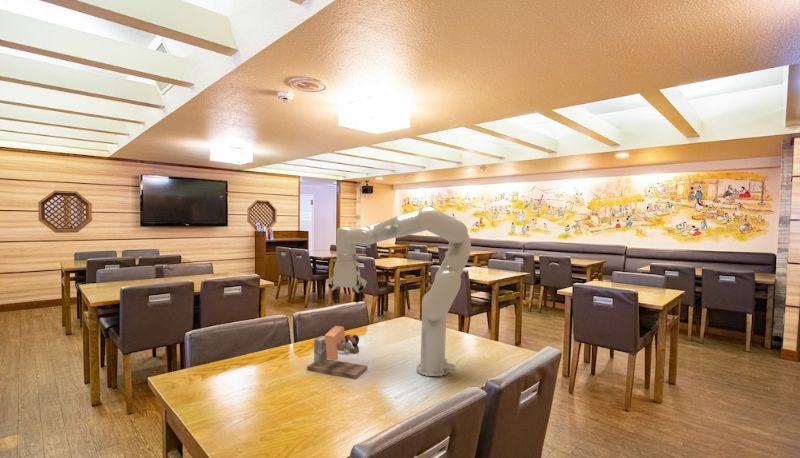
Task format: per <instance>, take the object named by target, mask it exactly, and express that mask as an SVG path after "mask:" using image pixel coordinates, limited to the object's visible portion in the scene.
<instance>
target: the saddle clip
mask: <svg viewBox="0 0 800 458" xmlns="http://www.w3.org/2000/svg"><path fill="white" fill-rule="evenodd" d="M324 336H325V343H326V352H327V359H329V360H335V361H338V359H339V354H338V352H339V351H340V352H346V351H347V349H345V348H340V347H337V345H338V344H339V343H340V342H343V343H345V336H346V334H345V326H340V325H334V326H333V327H332V328H331V329H330V330H329V331H328V332H327V333H325V334H324Z"/></svg>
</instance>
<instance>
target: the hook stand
mask: <svg viewBox="0 0 800 458" xmlns="http://www.w3.org/2000/svg"><path fill="white" fill-rule="evenodd" d="M313 343H314V344H313V362H312V363H310V364H309V365H307V366H306V371H307V372H308V371H310V372H314V373H320V374H326V375H331V376H336V377H341V378H346V379H352V380H353V379H354V380H357V379H358V378H359V377H360V376H361V375H363V374H364V373H365V372H366V371H368V365H364V364H357V363H352V362H347V361H341V360H331V359H327V352H326V343H325V335H320V336H318V337H316V338H315V339H314V342H313ZM337 347H340V348H345V349H346V351H349V350H351V349H352V348H353V346H352V343H351V342H349V341H348V342H347V343H343V342H340V343H339V344H338V345H337Z"/></svg>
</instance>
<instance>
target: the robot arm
mask: <svg viewBox="0 0 800 458" xmlns="http://www.w3.org/2000/svg"><path fill="white" fill-rule="evenodd" d="M425 231H429V232H430V233H432V234H433V235H436V236H437V237H440V238H441V239H444V240H446V241H448V249H447V252H446V254H445V257H444V258H443V260H442V263H441V265H440V266H439V268H438V270H437V271H436V273H435V275H434V281H433V283H432V285H431V287H430V289H429V291H427V292H426V293H425V294H424V295H423V297H422V301H421V335H420V336H421V338H420V363H419V364H417V366H416V368H415V369H416V370H415V371H416V372H417V373H418V374H420V375H421V374H422V376H424V375H425V377H429V376H441V377H444V376H443V375H445V376H447V375H448V374H449V372H450V371H451V372H456V370H457V369H456V368H457V367H456V365H454V363H449V362H448V360H447V359H448V358H446V338H447V337H446V336H447V314H448V313H449V311H450V309H451V307H452V305H453V303H454V300H455V299H456V297H457V295H458V293H459V291H460V289H461V284H462V279H461V276H462V274H463V271H464V269H465V267H466V265H467V263H468V260H469V259H470V256H471V252H472V251H471V250H472V243H471V238H470V236H469V233H468V228H467V225H466V224H465V223H464V222H463V221H460V220H459V219H456V218H455V217H452V216H450V215H448V214H446V213H444V212H442V211H440V210H438V209H437V208H435V207H432V206H426V207H423V208H420V209H417V210H414V211H410V212H407V213H403V214H400V215H397V216H393V217H392V218H389V219H388V220H385V221H381V222H378V223H375V224H371V225H367V226H366V225H365V226H359V227H352V226H351V227H349V226H345V227H344V226H342V227H338V228H337V229H336V261H335V262H334V266H333V275H332V276H331V277H328V278H326V283H327V287H329V289H330V291H331V292H332V295H331V296H332V301H333V302H336V301H338V300H339V288H353V289H354V291H355V292H354V302H355V303H357V304H358V303H360V302H361V299H362V298H361V297H362V291H363V290H364V289H365V288H366V285H367V283H368V281H367V280H365V279H364V277H363V278H362V277H361V272H360V266H359V262H358V261H357V260H359V259H360V257H359V255H357V253H356V251H357V250H356V249H357V248H356V246H360V247H367V246H369V245H373V244H376V243H379V242H382V241H386V240H390V239H398V238H403V237H407V236H410V235H414V234H418V233H421V232H425ZM332 281H333V283H332ZM447 373H448V374H447ZM446 374H447V375H446Z"/></svg>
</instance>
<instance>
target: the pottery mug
mask: <svg viewBox="0 0 800 458" xmlns="http://www.w3.org/2000/svg"><path fill="white" fill-rule="evenodd" d="M349 341H350V343H351V344H352V351H353V353H354V354H353V355H356V354H357V353H359V351H360V349H359V346H358V344H359V342H360V337H359V335H357V334H354V335H352V336H351V335H350V334H345V343H347V342H349Z"/></svg>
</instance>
